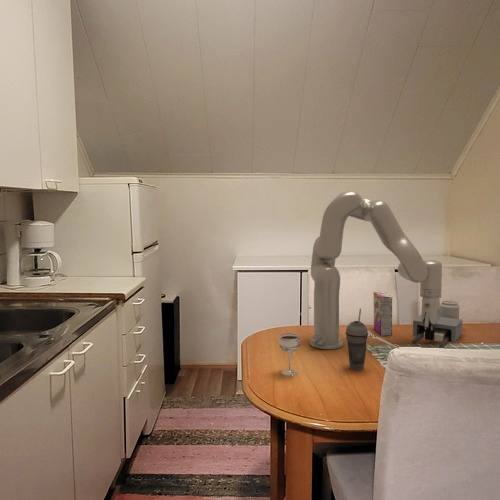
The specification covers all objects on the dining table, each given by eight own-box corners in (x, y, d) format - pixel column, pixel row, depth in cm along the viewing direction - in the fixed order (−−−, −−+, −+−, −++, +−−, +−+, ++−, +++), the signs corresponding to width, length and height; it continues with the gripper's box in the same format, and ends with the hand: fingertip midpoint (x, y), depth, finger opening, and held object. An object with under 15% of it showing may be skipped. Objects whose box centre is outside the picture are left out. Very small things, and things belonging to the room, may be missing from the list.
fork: (396, 351, 156) (396, 346, 155) (363, 335, 174) (363, 331, 174) (403, 350, 157) (403, 345, 156) (369, 334, 175) (369, 330, 175)
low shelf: (449, 349, 154) (450, 332, 153) (405, 341, 164) (405, 326, 163) (461, 334, 172) (462, 319, 171) (421, 328, 181) (421, 314, 181)
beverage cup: (351, 362, 143) (351, 304, 141) (371, 366, 138) (372, 307, 137) (341, 368, 137) (341, 308, 136) (362, 373, 133) (362, 311, 131)
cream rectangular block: (442, 343, 163) (442, 335, 163) (423, 340, 167) (423, 332, 167) (448, 336, 171) (448, 329, 171) (430, 333, 175) (430, 326, 175)
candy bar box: (372, 328, 183) (373, 291, 181) (384, 328, 183) (384, 291, 181) (380, 336, 172) (380, 296, 170) (392, 336, 171) (392, 296, 170)
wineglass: (274, 372, 135) (274, 336, 134) (288, 367, 140) (288, 331, 139) (291, 378, 130) (290, 340, 129) (304, 372, 135) (304, 336, 134)
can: (440, 330, 177) (441, 303, 176) (438, 326, 184) (439, 299, 183) (460, 332, 175) (461, 304, 174) (457, 327, 182) (457, 300, 181)
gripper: (436, 297, 152) (435, 346, 154) (445, 290, 164) (444, 336, 166) (415, 295, 156) (414, 343, 158) (425, 288, 168) (424, 333, 170)
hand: (429, 339), depth 162 cm, fingers closed
